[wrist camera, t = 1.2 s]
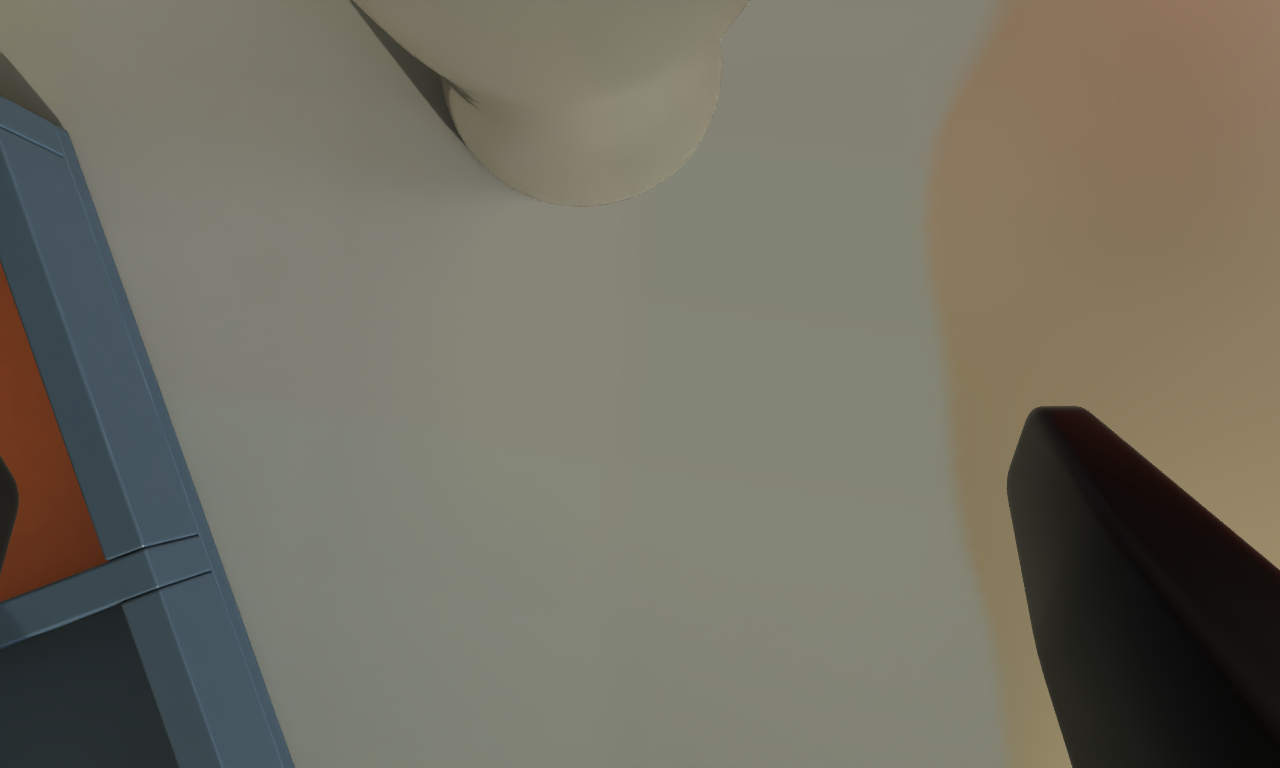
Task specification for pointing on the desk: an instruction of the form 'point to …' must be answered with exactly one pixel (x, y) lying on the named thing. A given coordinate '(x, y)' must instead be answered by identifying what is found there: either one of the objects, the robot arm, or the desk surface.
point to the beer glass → (571, 86)
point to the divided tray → (102, 512)
